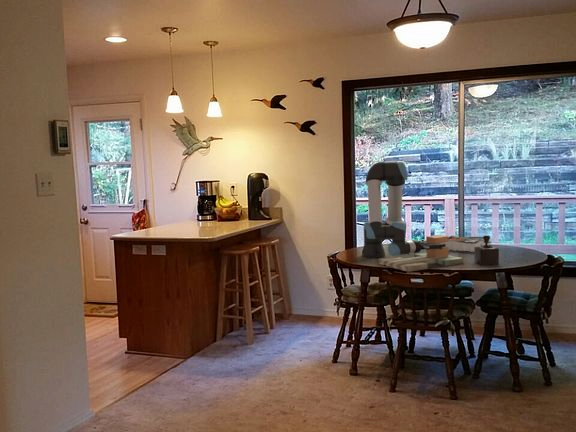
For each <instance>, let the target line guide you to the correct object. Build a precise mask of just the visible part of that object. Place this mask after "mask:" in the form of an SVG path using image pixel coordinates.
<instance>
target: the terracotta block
mask: <svg viewBox="0 0 576 432" xmlns="http://www.w3.org/2000/svg"><path fill="white" fill-rule="evenodd" d="M448 237H449V236H448V235H441V234H437V235H436V234H434V235H429V236H426V240H425V241H426V243H429V244H439V243H446V242H448ZM427 245H428V244H427ZM426 252H427V256H428V257H433V258H439V257H446V256H449V252H450V250H449V247H445V248H442V249H427V250H426Z"/></svg>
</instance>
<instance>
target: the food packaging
mask: <svg viewBox="0 0 576 432" xmlns="http://www.w3.org/2000/svg"><path fill="white" fill-rule="evenodd" d="M448 242H449V251H454V252H456V251H459V252H465V251H468V252H470V253H474V247H478V246H481V245H483V244H485V243H484V239H483V236H456V235H451V236H448Z"/></svg>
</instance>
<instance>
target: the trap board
mask: <svg viewBox="0 0 576 432" xmlns="http://www.w3.org/2000/svg"><path fill="white" fill-rule="evenodd" d="M380 264H382V265H381V266H384V265H386V266H385V267H388V266H389V267H388V268H392V269H396V270H401V271H405V272H409V273H410V272H416V271H422V270H430V269H435V268H441V267H448V266H454V265H460V264H464V258H463V257H460V256H454V255H449V256H446V257H439V258H433V257H428V256H427V251H425V252H419V253H413V257H407V258H405V257H400V256H392V257H385V258H384V257H383V258H378V265H380Z"/></svg>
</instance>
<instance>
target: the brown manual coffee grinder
mask: <svg viewBox="0 0 576 432" xmlns="http://www.w3.org/2000/svg"><path fill="white" fill-rule="evenodd" d="M482 237H483V239H484V243H485V244H483V245H481V246H478V247H474V252H473V253H474V254H473V255H474V256H473V257H474V259H473V261H474V263H475V264H477V265H480V266H494V265H493V264H498V265H499V262H500V261H499V259H500V248H498V247H495V246H492V245H491V244H492V240H491V236H490V235H489V234H484V235H483V236H482Z"/></svg>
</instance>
